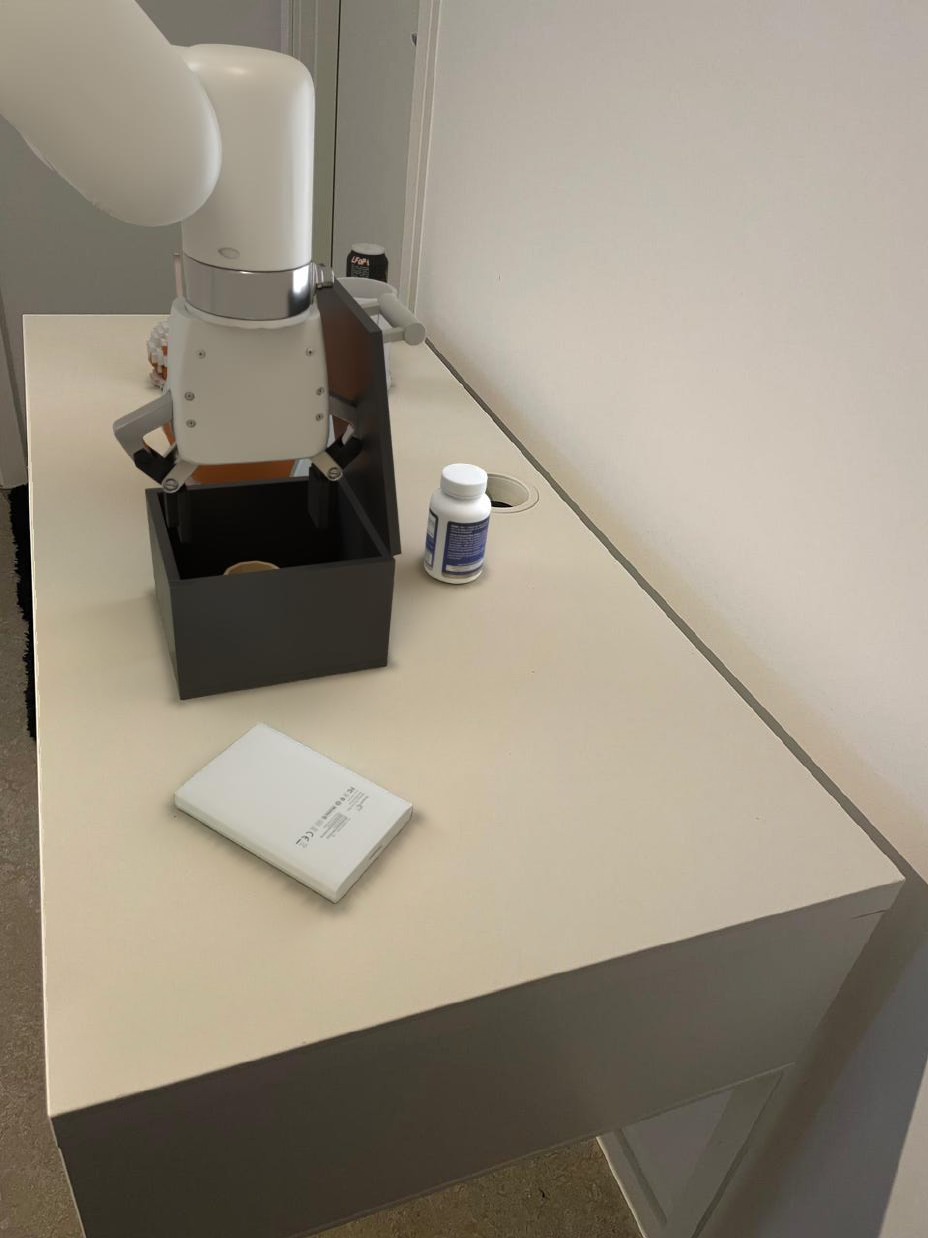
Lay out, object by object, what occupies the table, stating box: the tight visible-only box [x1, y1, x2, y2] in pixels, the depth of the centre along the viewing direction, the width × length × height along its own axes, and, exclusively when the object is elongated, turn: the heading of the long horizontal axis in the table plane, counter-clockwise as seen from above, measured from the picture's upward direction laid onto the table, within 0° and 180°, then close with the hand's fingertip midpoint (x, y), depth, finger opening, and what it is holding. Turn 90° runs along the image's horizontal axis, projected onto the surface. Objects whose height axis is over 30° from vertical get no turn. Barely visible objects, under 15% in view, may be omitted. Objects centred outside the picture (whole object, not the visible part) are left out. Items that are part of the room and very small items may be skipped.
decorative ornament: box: [146, 252, 184, 389], centre depth 104 cm, size 8×8×15 cm
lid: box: [315, 262, 427, 557], centre depth 64 cm, size 16×14×5 cm
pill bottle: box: [423, 462, 492, 585], centre depth 80 cm, size 5×5×10 cm
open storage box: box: [144, 475, 397, 701], centre depth 69 cm, size 16×14×10 cm
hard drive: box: [174, 722, 414, 904], centre depth 57 cm, size 2×8×12 cm
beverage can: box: [345, 242, 390, 284], centre depth 126 cm, size 6×6×12 cm
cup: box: [335, 276, 398, 391], centre depth 110 cm, size 10×9×12 cm
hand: (252, 526), depth 65 cm, fingers open, 9 cm apart
